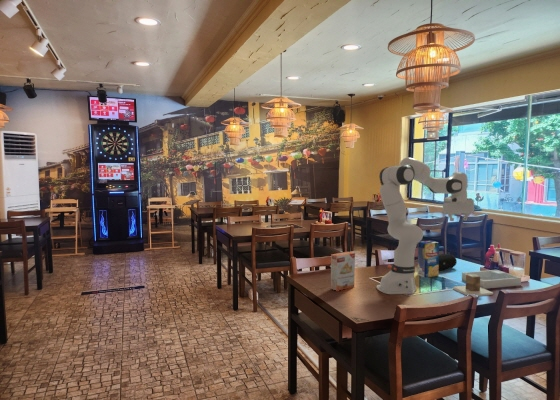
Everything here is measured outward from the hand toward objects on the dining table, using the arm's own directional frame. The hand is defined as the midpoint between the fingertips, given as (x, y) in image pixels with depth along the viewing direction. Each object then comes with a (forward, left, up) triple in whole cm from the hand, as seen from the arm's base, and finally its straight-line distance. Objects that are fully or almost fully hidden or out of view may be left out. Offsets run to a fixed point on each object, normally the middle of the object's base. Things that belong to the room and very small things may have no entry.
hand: (458, 220), depth 222 cm
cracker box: (-76, +1, -37) cm, 85 cm away
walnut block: (-8, -23, -36) cm, 43 cm away
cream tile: (-8, -23, -37) cm, 44 cm away
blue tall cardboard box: (-12, +12, -37) cm, 41 cm away
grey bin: (+14, -12, -37) cm, 41 cm away
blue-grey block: (+19, -12, -37) cm, 43 cm away
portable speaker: (+3, +22, -38) cm, 44 cm away
